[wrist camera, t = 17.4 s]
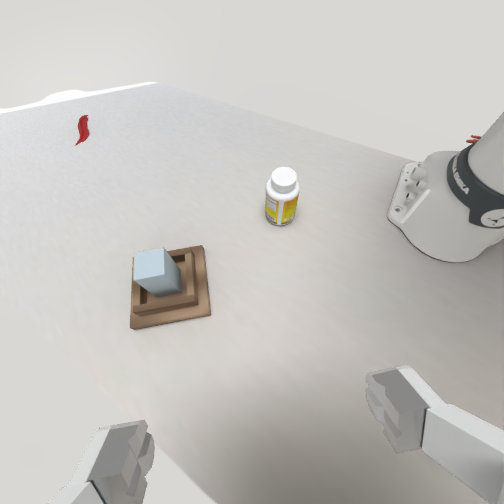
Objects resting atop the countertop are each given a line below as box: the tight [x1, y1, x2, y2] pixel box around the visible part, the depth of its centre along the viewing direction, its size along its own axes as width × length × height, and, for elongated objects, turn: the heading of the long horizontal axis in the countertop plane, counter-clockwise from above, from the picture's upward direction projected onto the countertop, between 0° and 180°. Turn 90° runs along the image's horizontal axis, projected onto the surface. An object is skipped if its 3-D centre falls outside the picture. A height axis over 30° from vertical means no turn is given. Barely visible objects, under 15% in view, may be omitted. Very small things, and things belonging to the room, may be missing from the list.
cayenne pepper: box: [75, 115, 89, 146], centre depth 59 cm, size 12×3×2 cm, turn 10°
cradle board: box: [130, 245, 211, 330], centre depth 39 cm, size 12×12×4 cm
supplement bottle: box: [265, 167, 300, 225], centre depth 42 cm, size 6×6×10 cm
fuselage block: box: [133, 248, 182, 297], centre depth 36 cm, size 4×4×8 cm
